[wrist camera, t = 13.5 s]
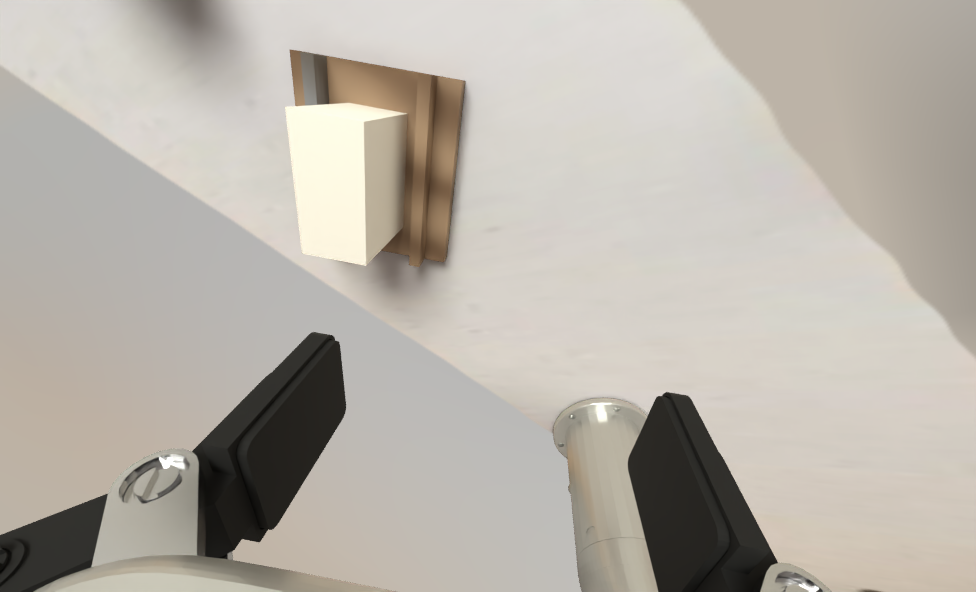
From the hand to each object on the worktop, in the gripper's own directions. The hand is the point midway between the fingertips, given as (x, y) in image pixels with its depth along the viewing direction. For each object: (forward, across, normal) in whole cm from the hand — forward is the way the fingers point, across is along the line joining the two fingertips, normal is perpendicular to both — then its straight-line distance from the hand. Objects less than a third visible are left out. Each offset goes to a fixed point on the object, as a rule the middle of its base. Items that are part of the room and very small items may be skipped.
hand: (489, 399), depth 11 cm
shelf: (+26, +13, -1) cm, 30 cm away
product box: (+25, +13, -1) cm, 28 cm away
